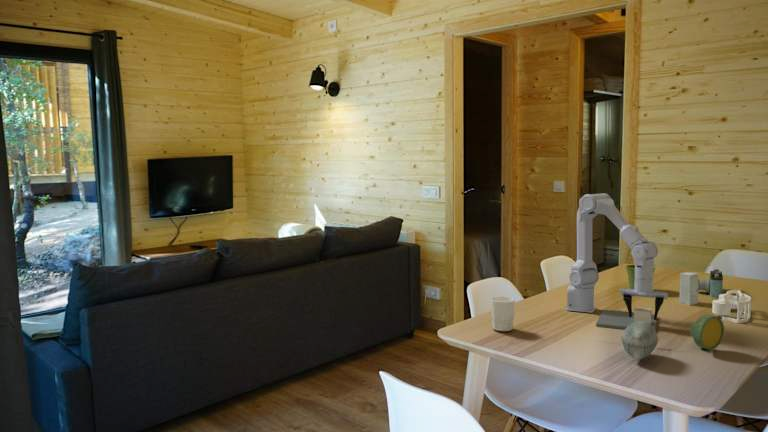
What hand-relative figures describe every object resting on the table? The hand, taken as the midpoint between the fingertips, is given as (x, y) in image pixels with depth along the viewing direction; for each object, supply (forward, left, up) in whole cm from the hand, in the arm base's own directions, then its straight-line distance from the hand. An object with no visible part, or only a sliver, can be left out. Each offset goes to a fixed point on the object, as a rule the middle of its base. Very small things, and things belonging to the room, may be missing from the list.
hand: (642, 317), depth 195 cm
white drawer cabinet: (0, 0, -2) cm, 2 cm away
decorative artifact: (+17, -16, -3) cm, 24 cm away
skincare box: (+14, +38, -3) cm, 41 cm away
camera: (+21, +59, -3) cm, 63 cm away
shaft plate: (-5, +3, -3) cm, 6 cm away
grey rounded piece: (+1, -30, -3) cm, 30 cm away
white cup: (-42, -22, -3) cm, 48 cm away
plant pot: (-4, +51, -3) cm, 51 cm away
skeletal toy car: (+28, +27, -3) cm, 39 cm away
